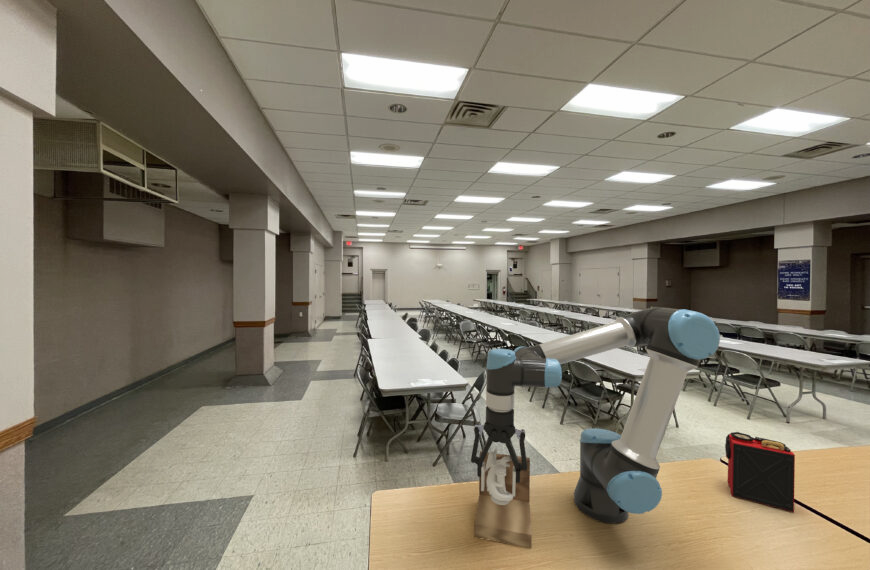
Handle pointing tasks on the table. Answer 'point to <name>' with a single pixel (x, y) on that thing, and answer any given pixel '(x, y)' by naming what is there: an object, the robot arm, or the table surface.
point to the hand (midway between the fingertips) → (498, 490)
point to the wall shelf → (506, 510)
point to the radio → (760, 470)
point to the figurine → (499, 472)
